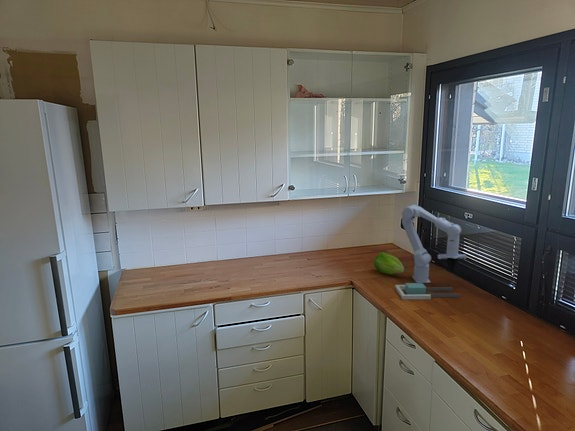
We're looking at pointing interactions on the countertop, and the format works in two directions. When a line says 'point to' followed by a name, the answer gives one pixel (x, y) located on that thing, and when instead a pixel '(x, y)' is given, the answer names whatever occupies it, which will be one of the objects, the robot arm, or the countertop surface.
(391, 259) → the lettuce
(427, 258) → the robot arm
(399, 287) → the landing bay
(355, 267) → the countertop surface
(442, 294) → the parallel guide rails
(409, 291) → the teal block
